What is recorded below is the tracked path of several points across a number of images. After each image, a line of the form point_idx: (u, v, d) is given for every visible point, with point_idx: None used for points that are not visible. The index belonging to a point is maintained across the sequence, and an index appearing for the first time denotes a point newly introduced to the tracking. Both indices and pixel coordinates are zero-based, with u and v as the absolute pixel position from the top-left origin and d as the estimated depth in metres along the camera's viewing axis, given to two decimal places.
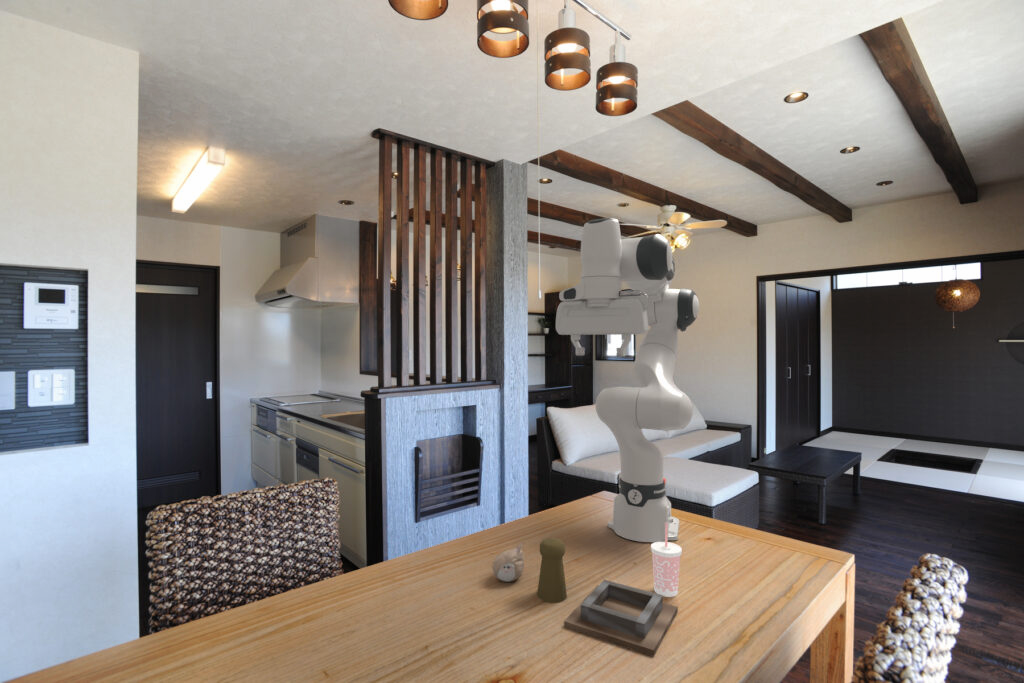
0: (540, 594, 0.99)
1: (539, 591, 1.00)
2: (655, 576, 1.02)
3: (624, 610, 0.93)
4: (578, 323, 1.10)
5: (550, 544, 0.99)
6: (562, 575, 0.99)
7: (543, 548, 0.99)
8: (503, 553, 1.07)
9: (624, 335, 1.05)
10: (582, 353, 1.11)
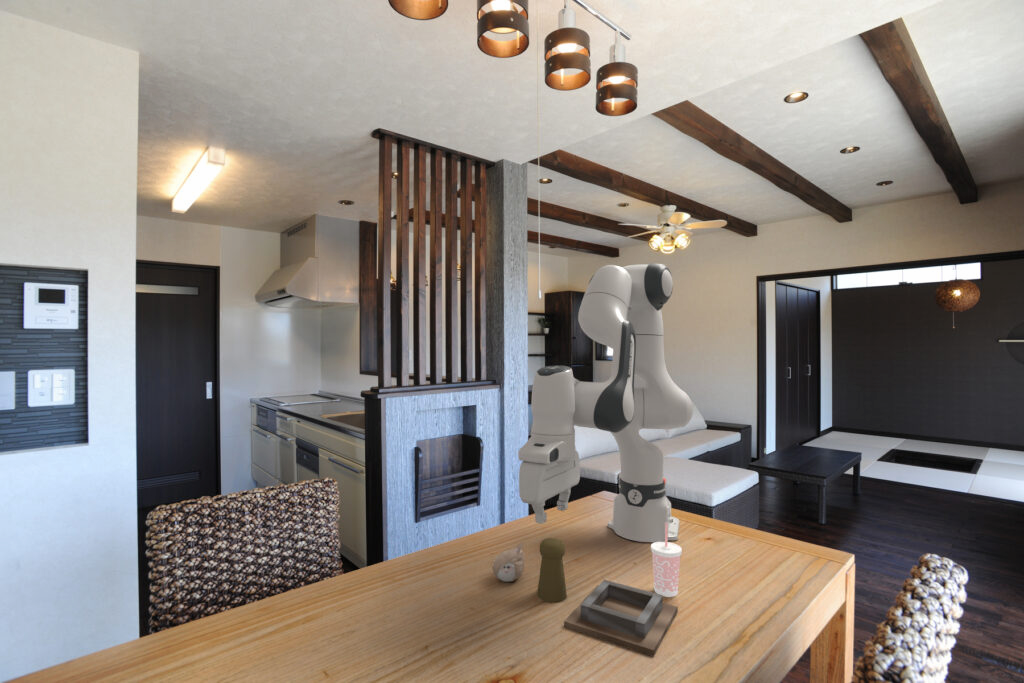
0: (540, 594, 0.99)
1: (539, 591, 1.00)
2: (655, 576, 1.02)
3: (624, 610, 0.93)
4: (550, 486, 0.96)
5: (550, 544, 0.99)
6: (562, 575, 0.99)
7: (543, 548, 0.99)
8: (503, 553, 1.07)
9: (569, 488, 1.05)
10: None
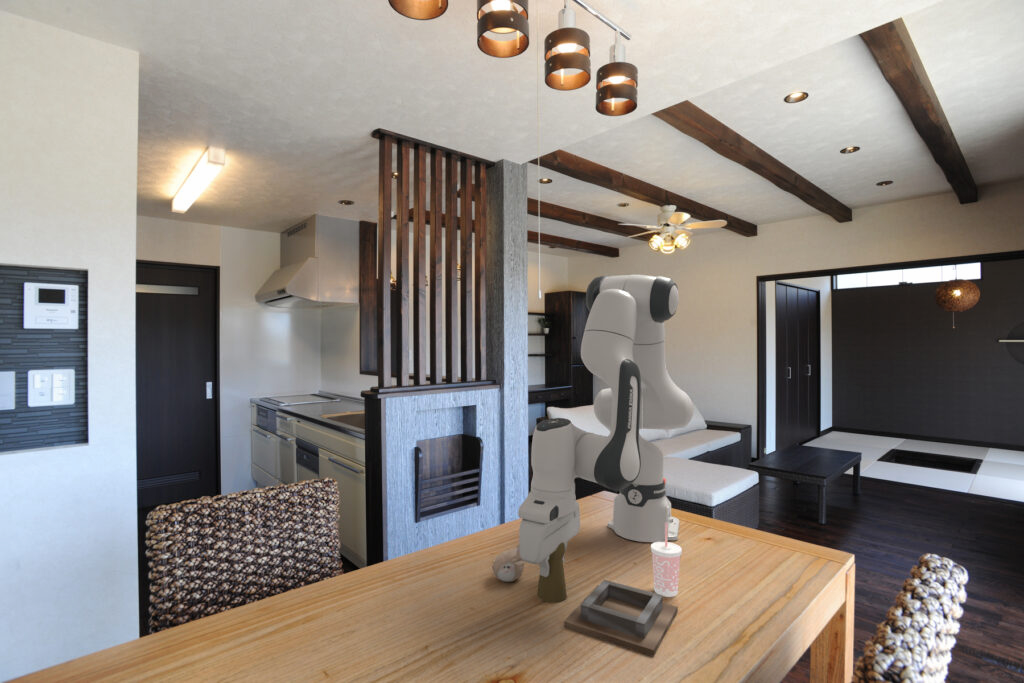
0: (540, 594, 0.99)
1: (539, 591, 1.00)
2: (655, 576, 1.02)
3: (624, 610, 0.93)
4: (550, 543, 0.96)
5: None
6: (562, 575, 0.99)
7: None
8: (503, 553, 1.07)
9: (565, 542, 1.04)
10: None
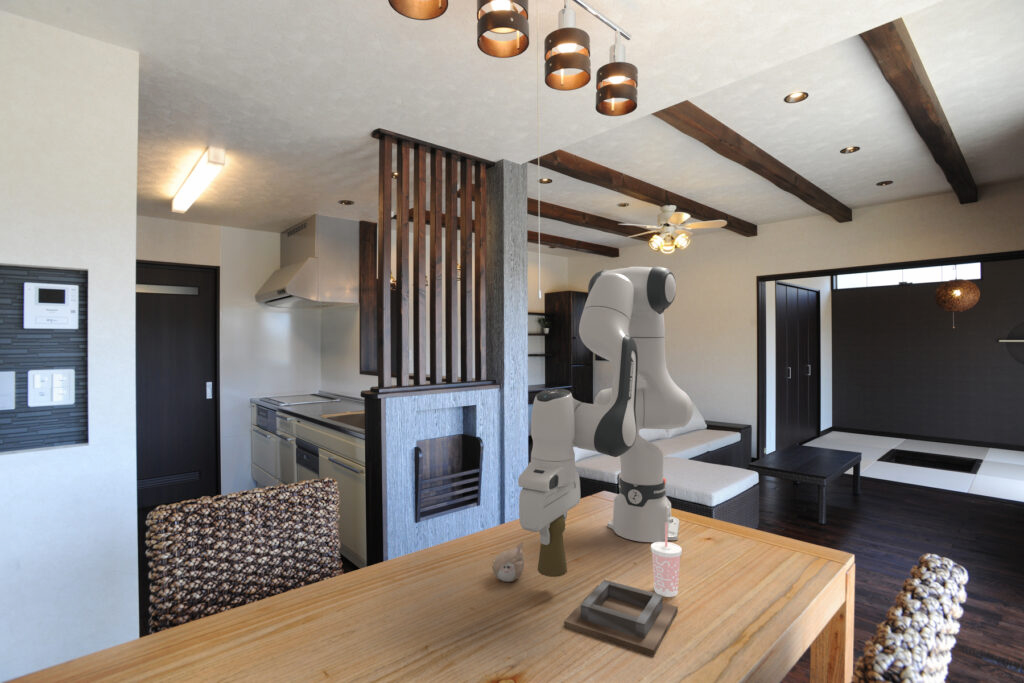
0: (541, 569, 1.00)
1: (540, 566, 1.00)
2: (655, 576, 1.02)
3: (624, 610, 0.93)
4: (550, 512, 0.97)
5: None
6: (562, 550, 1.00)
7: None
8: (503, 553, 1.07)
9: None
10: None
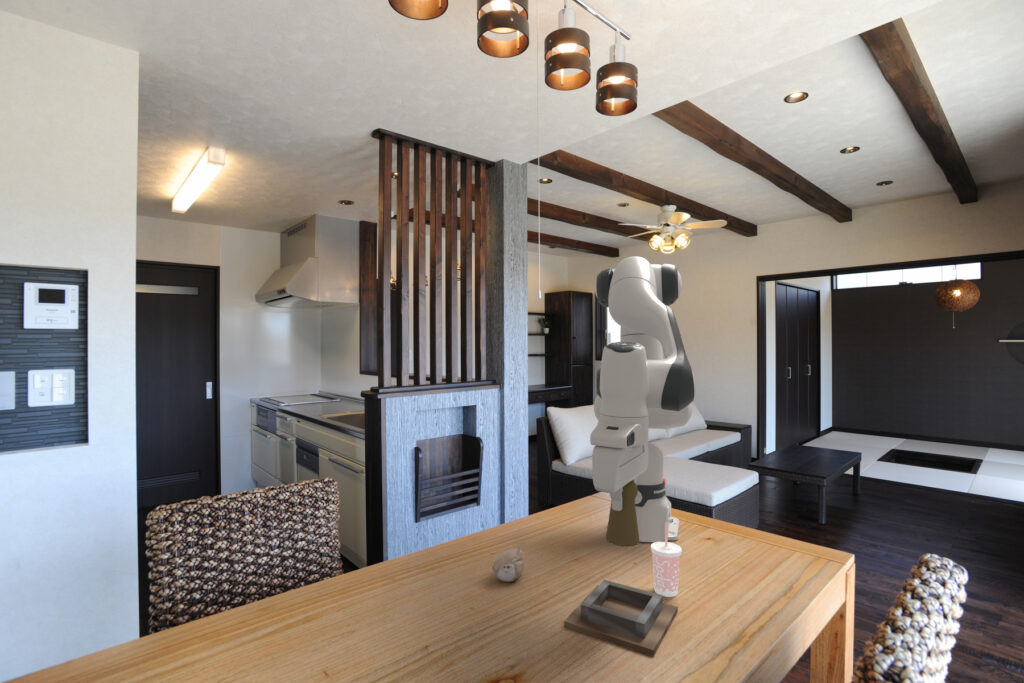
0: (611, 538, 0.91)
1: (610, 535, 0.91)
2: (655, 576, 1.02)
3: (624, 610, 0.93)
4: (624, 473, 0.88)
5: None
6: (635, 517, 0.91)
7: None
8: (503, 553, 1.07)
9: (635, 477, 0.95)
10: None
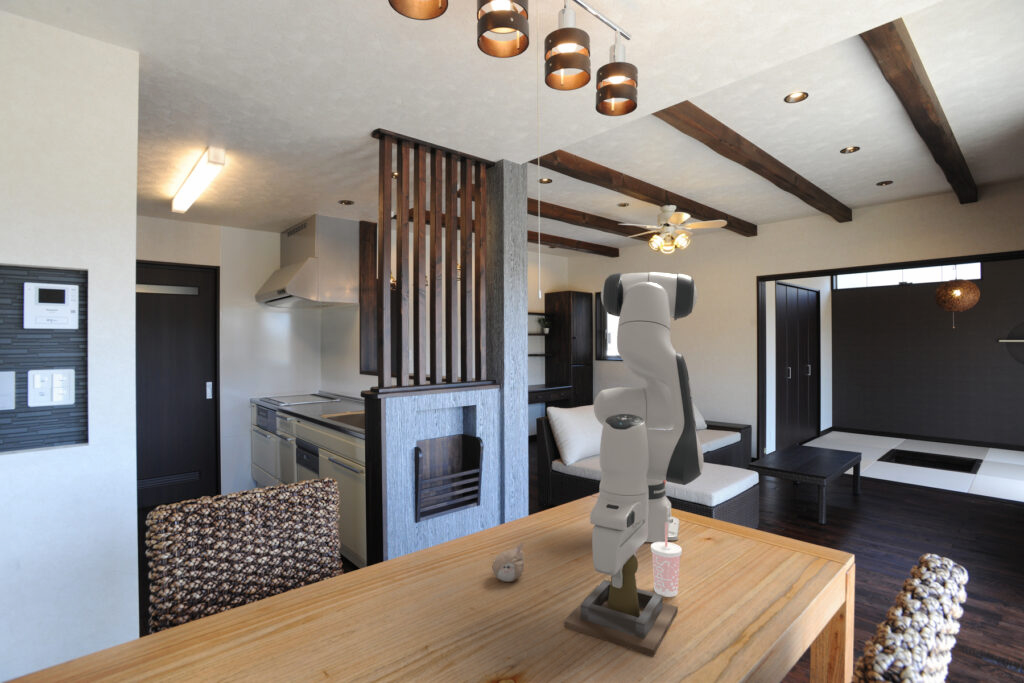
0: None
1: None
2: (655, 576, 1.02)
3: None
4: (624, 552, 0.87)
5: None
6: (635, 592, 0.91)
7: None
8: (503, 553, 1.07)
9: None
10: None
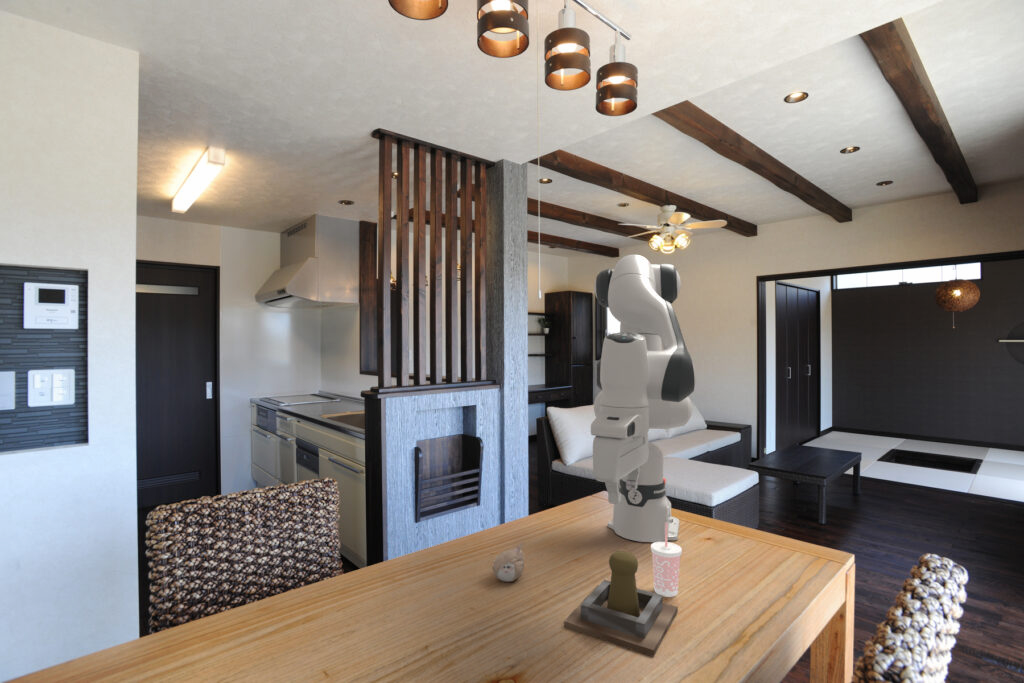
0: None
1: None
2: (655, 576, 1.02)
3: None
4: (625, 463, 0.88)
5: (623, 558, 0.90)
6: (635, 592, 0.91)
7: (615, 562, 0.90)
8: (503, 553, 1.07)
9: (638, 466, 0.97)
10: None
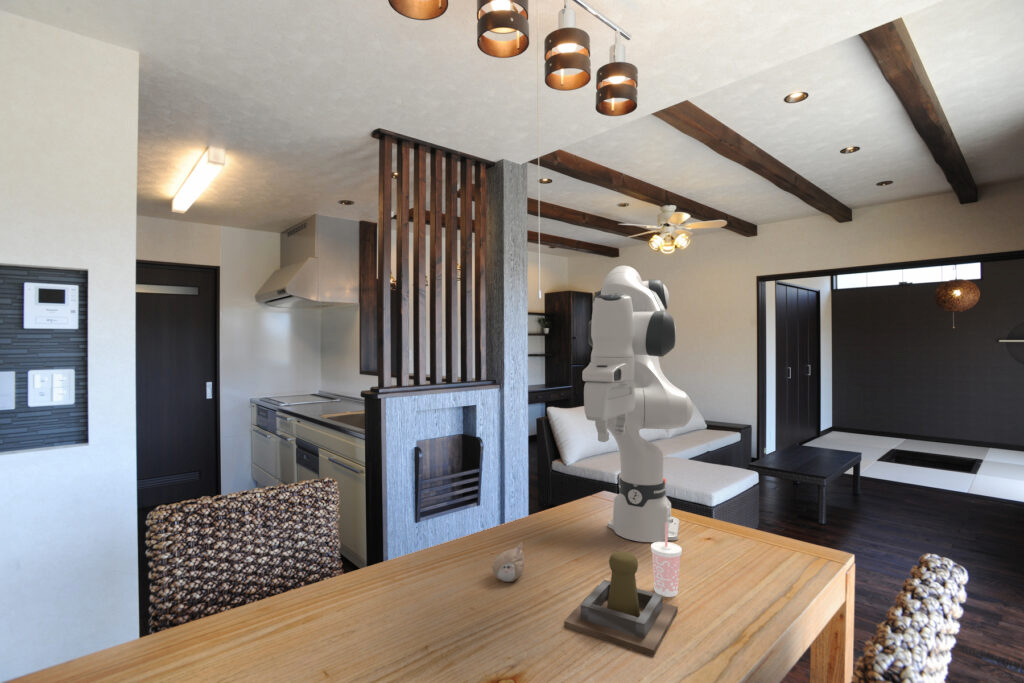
0: None
1: None
2: (655, 576, 1.02)
3: None
4: (612, 406, 0.99)
5: (623, 558, 0.90)
6: (635, 592, 0.91)
7: (615, 562, 0.90)
8: (503, 553, 1.07)
9: (625, 413, 1.08)
10: None
